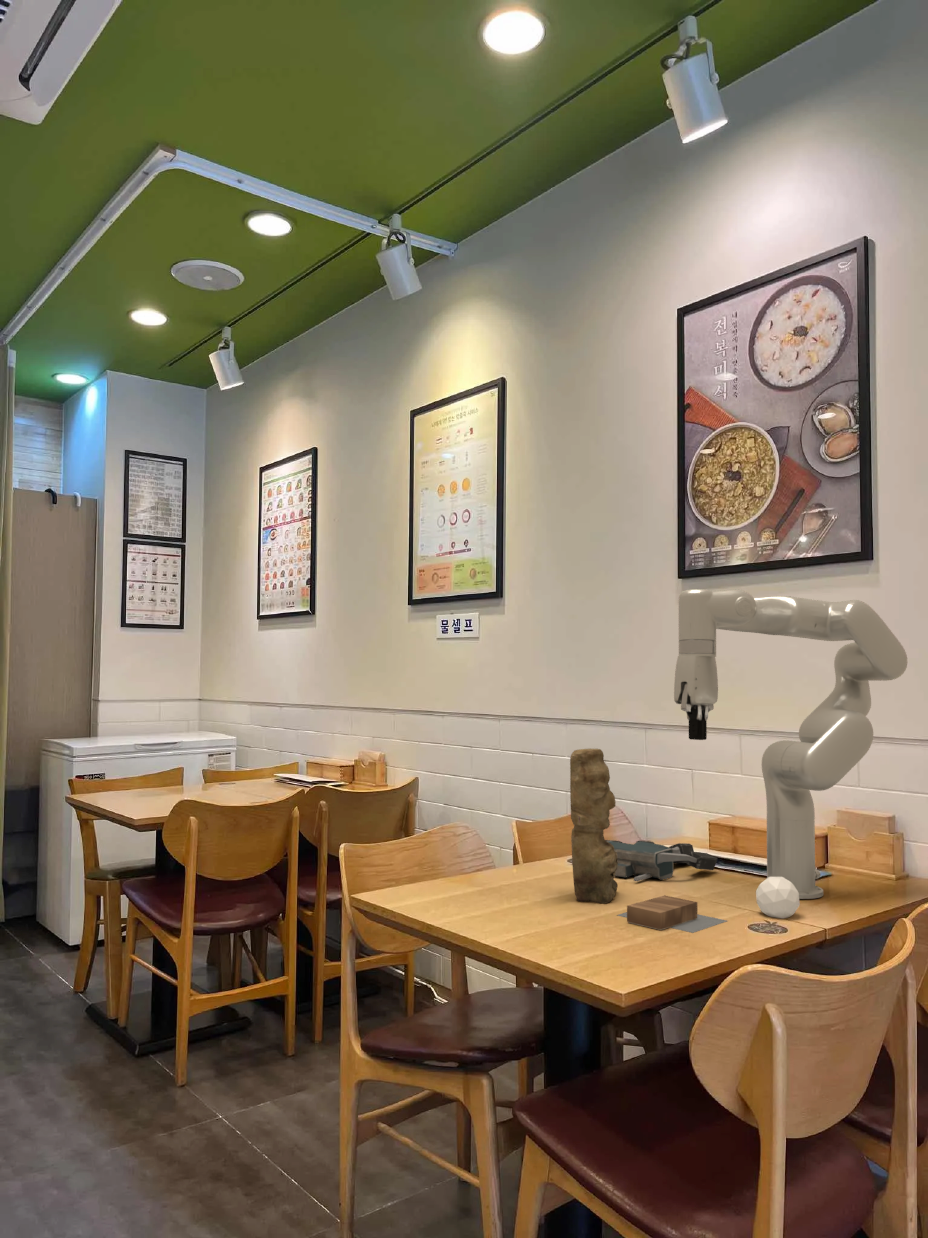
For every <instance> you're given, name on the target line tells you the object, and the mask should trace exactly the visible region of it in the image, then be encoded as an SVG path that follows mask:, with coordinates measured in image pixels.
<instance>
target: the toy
mask: <svg viewBox="0 0 928 1238" xmlns="http://www.w3.org/2000/svg"><path fill="white" fill-rule="evenodd" d="M605 841H607V842H609V843H611V844H612V845H613V846H614V851H615V852H617V858H618V862H617V863H618V867H617V870H616V871H615V873H616V874H615V877H621V878H630V877H631V876H634V877H633V881H634V882H640V881H644V880H646V879H651V878H653V879H658V880H660V881H664V880H663V879H666V880H668V879H667V878H669V879H671V878H672V877H673V874H674V864H686V865H688V866H691V867H692V868H694V869H696V870H704V871H707V870H708V871H714V870H715V867H716V865H717V862H718V857H716V856H714V855H711V854H709V853H707V852H701V851H699V852H697V851H695V850H694V846H693V844H691V843H685V842H683V843H680V842H679V843H675V844H672V845H670V846H666V845H664V844H658V843H655V842H654V841H650V840H649V841H648V840H641V839H639V840H636V841H635V843H626V842H623V841H620V840H614V839H613V840H611V839H605ZM670 877H671V878H670Z"/></svg>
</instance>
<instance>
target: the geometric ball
mask: <svg viewBox="0 0 928 1238" xmlns="http://www.w3.org/2000/svg"><path fill="white" fill-rule="evenodd" d="M755 895H756V896H755V898H756V899H755V900H756V904H757V906H758V908H759V909H760V911H761V913H763V914H764V915H765V916H767V917H771V918H775V919H787V918H790V917H792V916H793V915H794V914H795V913H796V911H797V910H798V909H799V907H800V904H801V903H800V899H799V892H798V891H797V889H796V888H795V886H794V885H793V884H792V883H791V882H790V881H788V880H787V879H785V878H784V877H768V878H767V877H766V879H764V880H763V881H761V882H760V883H759V884H758V887H757V889H756V891H755Z"/></svg>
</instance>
